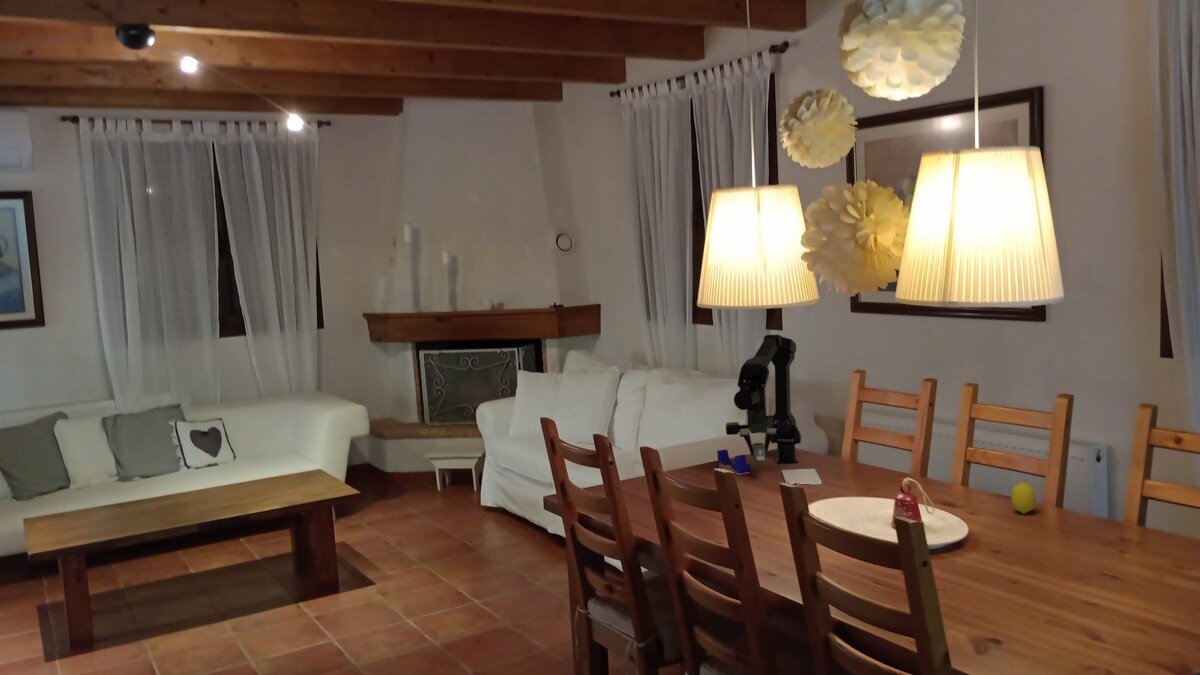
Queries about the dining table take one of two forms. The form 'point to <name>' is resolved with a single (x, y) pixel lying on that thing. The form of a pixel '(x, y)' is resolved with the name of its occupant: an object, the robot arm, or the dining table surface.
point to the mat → (801, 476)
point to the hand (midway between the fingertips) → (758, 455)
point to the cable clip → (739, 462)
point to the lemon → (1023, 497)
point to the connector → (758, 452)
